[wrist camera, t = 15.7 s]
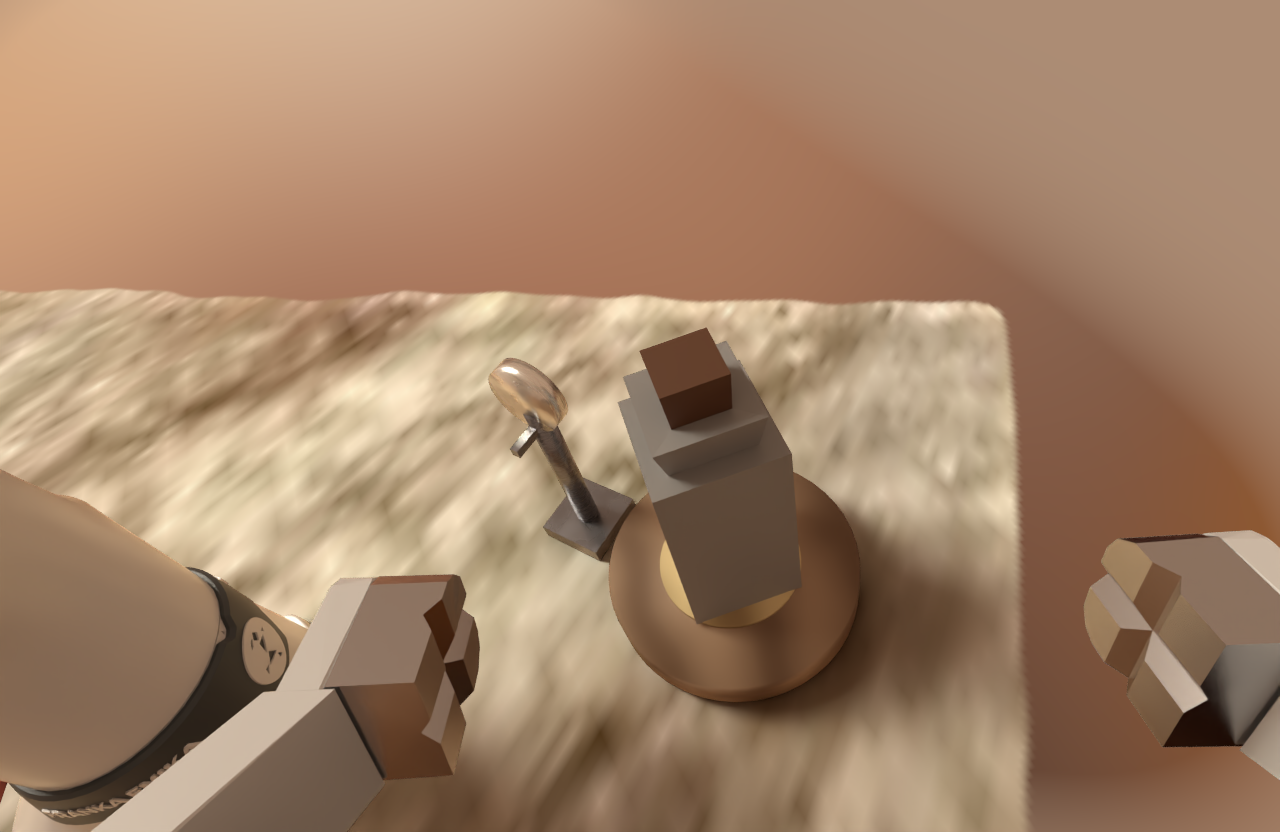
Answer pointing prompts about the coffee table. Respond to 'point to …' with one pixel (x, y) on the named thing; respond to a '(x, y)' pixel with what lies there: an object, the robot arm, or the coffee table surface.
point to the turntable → (748, 637)
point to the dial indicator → (559, 460)
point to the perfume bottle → (714, 474)
